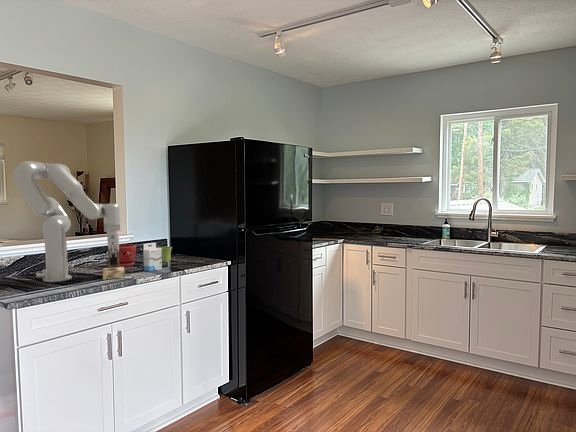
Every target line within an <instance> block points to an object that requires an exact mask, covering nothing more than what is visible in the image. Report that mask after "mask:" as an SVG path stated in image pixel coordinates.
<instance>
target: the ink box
mask: <svg viewBox="0 0 576 432" xmlns="http://www.w3.org/2000/svg"><path fill="white" fill-rule="evenodd" d="M162 263H163V262H162V255H161V248H158V247H157V242H149V243H143V271H145V272H154V271H159V270H162V269H163V268H162V266H163V264H162Z"/></svg>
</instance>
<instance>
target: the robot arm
mask: <svg viewBox="0 0 576 432" xmlns="http://www.w3.org/2000/svg"><path fill="white" fill-rule="evenodd" d="M36 180H45V181H52V182H53V183H54V184H55V185H56V186H57V187H58V188H59V189H60V191H62V192H63V194H65V195H66V197H67V198H68V199H69V200H70V202H71V203H72V205H73V206H74V207H75V208H76V209H77V210H78V211H79V212H80V213H81V214H82V216H84V217H85V218H86V219H89V220H98V219H101V218H103V228H104V229H103V231H104V232H105V233H106V237H107V241H106V242H107V248H108V252H110V255H111V257H110V265H117V257H116V250H118V251H119V245H120V240H119V239H120V238H119V237H120V236H119V232H120V231H121V219H120V218H121V217H120V216H121V215H120V214H121V213H120V205H119V204H118V203H105V204H104V203H94V201H93V200H92V199H90V197H88V195H87V194H86V193H85V191H84V188H83V185H82V184H81V182H79V180H77V178H76V177H74V175H72V174H71V170H70V168H69V167H68V166H67V165H65V164H62V163H50V162H49V163H48V162H41V161H34V160H33V161H32V160H25V161H23V162H20V163H19V164H18V165H17V166H16V168H15V170H14V173H13V181H14V185H15V186H16V187H17V189H18V191H19V192H20V194H21V195H22V197H23V198H24V200H25V201H26V203H27V204H28V206H29V207H30V208H31V210H32V212H33V213H34V214H35V215H36V216H38V217H44V218H45V220H44V222H43V224H42V233H43V234H42V235H43V240H44V250H45V251H44V252H45V271H43V272H36V273H35V277H36V278H42V281H43V282H46V283H57V282H58V283H59V282H65V281H69V280H71V279H72V275H70V274H69V266H68V265H69V264H68V246H67V236H66V233H67V232H68V231H69V230H70V228H71V226H72V222H71V219H70V218H69V216H68V215H67V213H66V211H65V210H64V209H63V207H62V206H61V204H60V203H59V201H57V200H56V199H55V198H54V197H50V196H47V195H46V193H45V192H44V191H43V189H42V187H41V186H40V185H39V184H38V183H37V181H36ZM111 252H112V253H111Z"/></svg>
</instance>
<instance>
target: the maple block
mask: <svg viewBox="0 0 576 432" xmlns="http://www.w3.org/2000/svg"><path fill="white" fill-rule="evenodd" d="M125 272H126V271H125V267H117V266H115V267H106V268H104V267H103V268H102V281H107V280H106V279H108V280H117V279H116V278H121V279H126V277H125V276H126V273H125Z"/></svg>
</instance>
